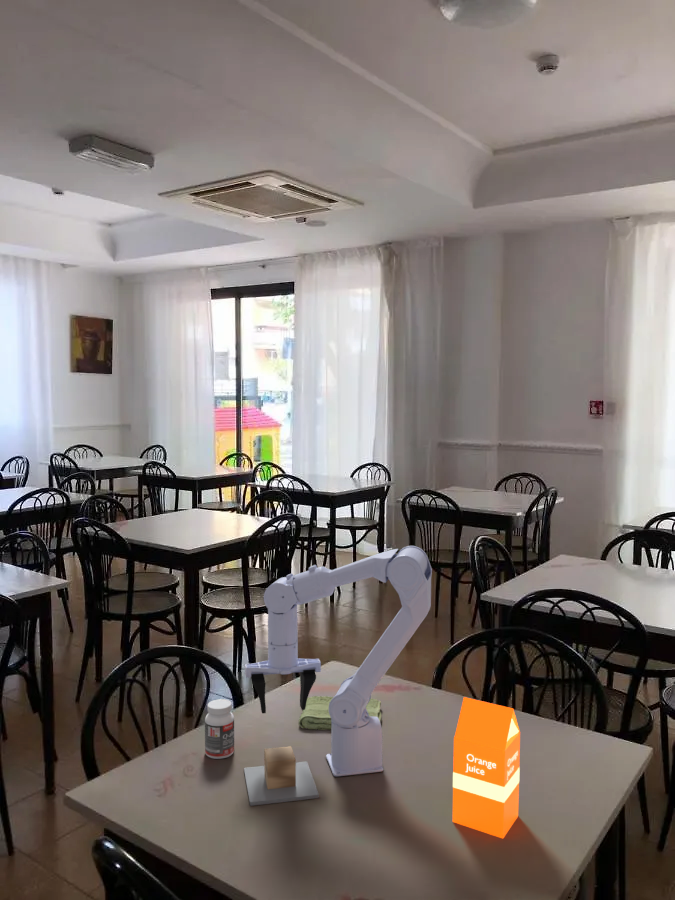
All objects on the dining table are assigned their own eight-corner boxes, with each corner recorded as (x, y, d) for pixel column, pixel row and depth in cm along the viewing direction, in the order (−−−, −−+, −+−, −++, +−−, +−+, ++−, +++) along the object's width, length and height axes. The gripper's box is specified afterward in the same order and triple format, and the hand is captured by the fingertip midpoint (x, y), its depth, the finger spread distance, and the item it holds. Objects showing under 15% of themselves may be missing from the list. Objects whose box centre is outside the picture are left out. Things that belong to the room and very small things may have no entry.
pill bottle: (228, 761, 142) (228, 711, 141) (200, 758, 143) (200, 708, 143) (238, 747, 148) (238, 699, 147) (211, 744, 149) (210, 696, 148)
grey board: (307, 764, 141) (306, 761, 141) (318, 797, 130) (318, 794, 130) (243, 770, 139) (243, 767, 139) (250, 805, 127) (250, 802, 127)
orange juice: (503, 839, 118) (505, 717, 116) (451, 822, 122) (453, 704, 121) (519, 815, 124) (521, 700, 123) (469, 800, 129) (471, 688, 127)
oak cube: (291, 772, 137) (291, 746, 137) (295, 786, 132) (295, 759, 132) (264, 775, 136) (264, 748, 136) (267, 789, 131) (267, 762, 131)
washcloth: (381, 734, 155) (381, 719, 154) (297, 732, 156) (297, 717, 155) (381, 707, 168) (381, 694, 167) (303, 706, 169) (303, 692, 168)
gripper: (247, 650, 137) (247, 721, 138) (323, 645, 140) (323, 714, 141) (243, 638, 144) (244, 706, 145) (316, 633, 147) (316, 699, 148)
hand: (283, 709), depth 144 cm, fingers open, 7 cm apart
